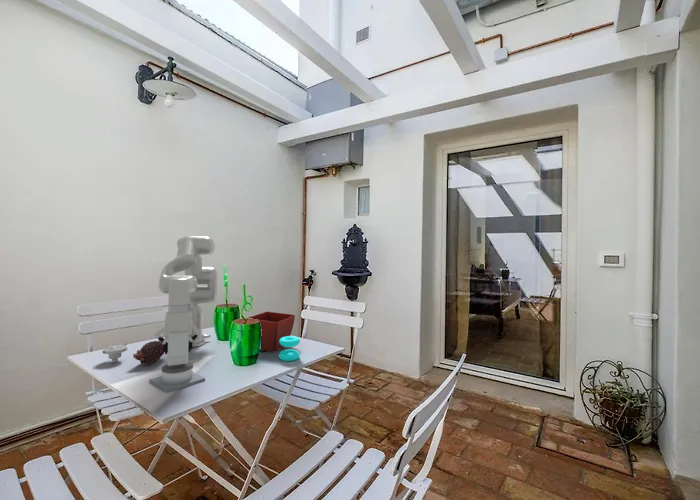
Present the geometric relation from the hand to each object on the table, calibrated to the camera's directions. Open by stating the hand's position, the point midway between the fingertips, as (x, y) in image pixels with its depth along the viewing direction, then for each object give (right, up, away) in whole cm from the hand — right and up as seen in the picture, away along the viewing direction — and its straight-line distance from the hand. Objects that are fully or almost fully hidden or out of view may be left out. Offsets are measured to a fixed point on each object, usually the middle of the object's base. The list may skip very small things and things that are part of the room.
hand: (178, 351), depth 135 cm
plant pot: (+26, -12, +46) cm, 55 cm away
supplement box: (0, -4, 0) cm, 4 cm away
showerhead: (-39, -10, +19) cm, 44 cm away
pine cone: (-21, -11, +19) cm, 30 cm away
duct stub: (0, -12, 0) cm, 12 cm away
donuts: (+39, -13, +30) cm, 51 cm away
